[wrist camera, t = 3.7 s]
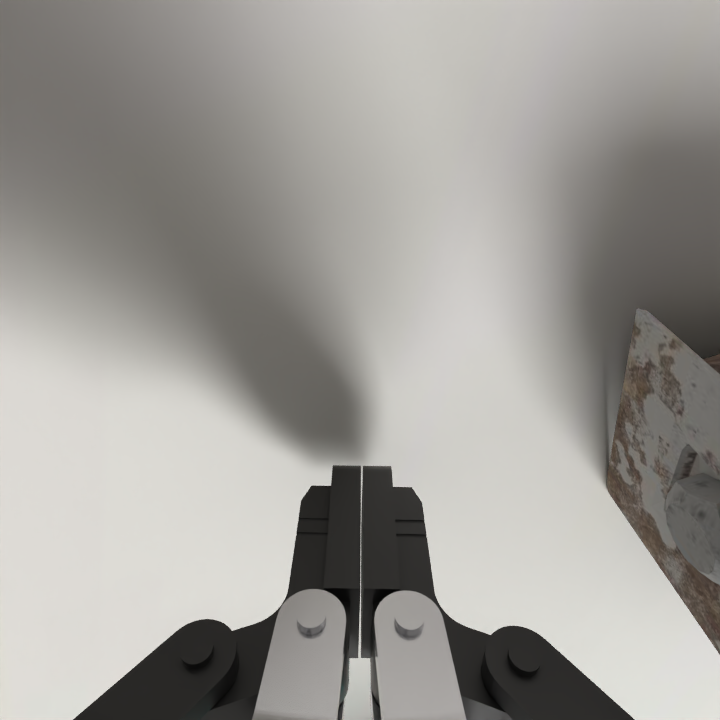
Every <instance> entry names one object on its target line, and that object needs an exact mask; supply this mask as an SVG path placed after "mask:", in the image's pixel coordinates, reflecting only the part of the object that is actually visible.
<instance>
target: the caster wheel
mask: <svg viewBox="0 0 720 720" xmlns="http://www.w3.org/2000/svg"><path fill="white" fill-rule="evenodd" d="M607 488H608V492H609V494H610V495H611V497H612V498H613V500H614V501H615V503H616V504H617V506H618V507H619V509H620V510H621V511H622V513H623V514H624V516H625V517H626V519H627V520H628V522H629V523H630V525H631V526H632V527H633V529H634V530H635V532H636V533H637V535H638V536H639V538H640V539H641V541H642V542H643V543H644V545H645V546H646V548H647V549H648V551H649V552H650V554H651V555H652V557H653V558H654V559H655V561H656V562H657V564H658V565H659V567H660V568H661V570H662V571H663V573H664V574H665V575H666V577H667V578H668V580H669V581H670V583H671V584H672V586H673V587H674V589H675V590H676V592H677V593H678V594H679V596H680V597H681V599H682V600H683V602H684V603H685V605H686V606H687V608H688V609H689V610H690V612H691V613H692V615H693V616H694V618H695V619H696V621H697V622H698V624H699V625H700V626H701V628H702V629H703V631H704V632H705V634H706V635H707V637H708V638H709V640H710V641H711V642H712V644H713V645H714V647H715V648H716V650H717V651H718V653H719V654H720V354H718V355H715V356H712V357H709V358H705V359H702V358H701V357H700V356H699V355H697V354H696V353H695V352H694V351H693V350H692V349H691V348H689V347H688V346H687V345H686V344H685V343H684V342H683V341H681V340H680V339H679V338H678V337H677V336H676V335H675V334H674V333H672V332H671V331H670V330H669V329H668V328H667V327H666V326H664V325H663V324H662V323H661V322H660V321H659V320H658V319H657V318H655V317H654V316H653V315H652V314H651V313H650V312H649V311H647V310H642V309H638V308H637V310H636V315H635V321H634V327H633V332H632V338H631V344H630V349H629V355H628V360H627V366H626V372H625V377H624V383H623V389H622V394H621V400H620V406H619V411H618V417H617V423H616V428H615V434H614V440H613V445H612V451H611V457H610V462H609V468H608V475H607Z"/></svg>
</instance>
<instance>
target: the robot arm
mask: <svg viewBox="0 0 720 720" xmlns="http://www.w3.org/2000/svg"><path fill="white" fill-rule="evenodd" d="M360 525H361V658H371V687H370V703H371V716H372V720H634V719H633V718H632V717H631V716H630V715H629V714H628V713H627V712H625V711H624V710H623V709H622V708H621V707H620V706H619V705H618V704H616V703H615V702H614V701H613V700H612V699H611V698H610V697H609V696H608V695H606V694H605V693H604V692H603V691H602V690H601V689H600V688H599V687H598V686H596V685H595V684H594V683H593V682H592V681H591V680H590V679H589V678H588V677H586V676H585V675H584V674H583V673H582V672H581V671H580V670H579V669H578V668H576V667H575V666H574V665H573V664H572V663H571V662H570V661H569V660H567V659H566V658H565V657H564V656H563V655H562V654H561V653H560V652H559V651H557V650H556V649H555V648H554V647H553V646H552V645H551V644H550V643H549V642H547V641H546V640H545V639H544V638H543V637H541V636H540V635H539V634H537V633H535V632H534V631H532V630H529V629H527V628H524V627H519V626H507V627H503V628H500V629H498V630H497V631H495V632H494V633H493V634H492V635H488V634H486V633H483V632H480V631H477V630H474V629H471V628H468V627H466V626H463V625H461V624H459V623H457V622H456V621H454V620H453V619H452V618H450V617H449V616H448V615H447V614H446V613H445V612H444V611H443V609H442V608H441V607H440V605H439V603H438V601H437V599H436V596H435V592H434V586H433V579H432V572H431V564H430V557H429V550H428V543H427V538H426V529H425V523H424V514H423V507H422V502H421V501H420V499H419V498H418V496H417V495H416V493H415V492H414V490H413V489H412V487H393V484H392V470H391V466H363V485H362V522H361V466H336V465H333V470H332V483H331V486H311V487H310V489H309V490H308V492H307V493H306V495H305V496H304V497H303V499H302V500H301V506H300V513H299V521H298V527H297V536H296V541H295V548H294V555H293V562H292V568H291V575H290V582H289V589H288V593H287V596H286V598H285V600H284V602H283V604H282V605H281V606H280V608H279V609H278V610H277V611H276V612H275V613H274V614H273V615H271V616H270V617H268V618H267V619H265V620H263V621H261V622H259V623H256V624H253V625H250V626H247V627H244V628H240V629H237V630H234V631H231V630H230V628H229V627H228V626H226V625H225V624H224V623H222V622H220V621H216V620H211V619H204V620H198V621H194V622H192V623H189V624H187V625H185V626H183V627H182V628H180V629H179V630H178V631H176V632H175V633H174V634H173V635H172V636H171V637H169V638H168V639H167V640H166V641H165V642H164V643H162V644H161V645H160V646H159V647H158V648H157V649H155V650H154V651H153V652H152V653H151V654H149V655H148V656H147V657H146V658H145V659H144V660H142V661H141V662H140V663H139V664H138V665H137V666H135V667H134V668H133V669H132V670H131V671H130V672H128V673H127V674H126V675H125V676H124V677H123V678H121V679H120V680H119V681H118V682H117V683H116V684H114V685H113V686H112V687H111V688H110V689H108V690H107V691H106V692H105V693H104V694H103V695H101V696H100V697H99V698H98V699H97V700H96V701H94V702H93V703H92V704H91V705H90V706H89V707H87V708H86V709H85V710H84V711H83V712H82V713H80V714H79V715H78V716H77V717H76V718H75V719H73V720H343V716H344V706H345V696H346V694H347V690H348V684H349V658H358V642H359V611H360Z"/></svg>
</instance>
